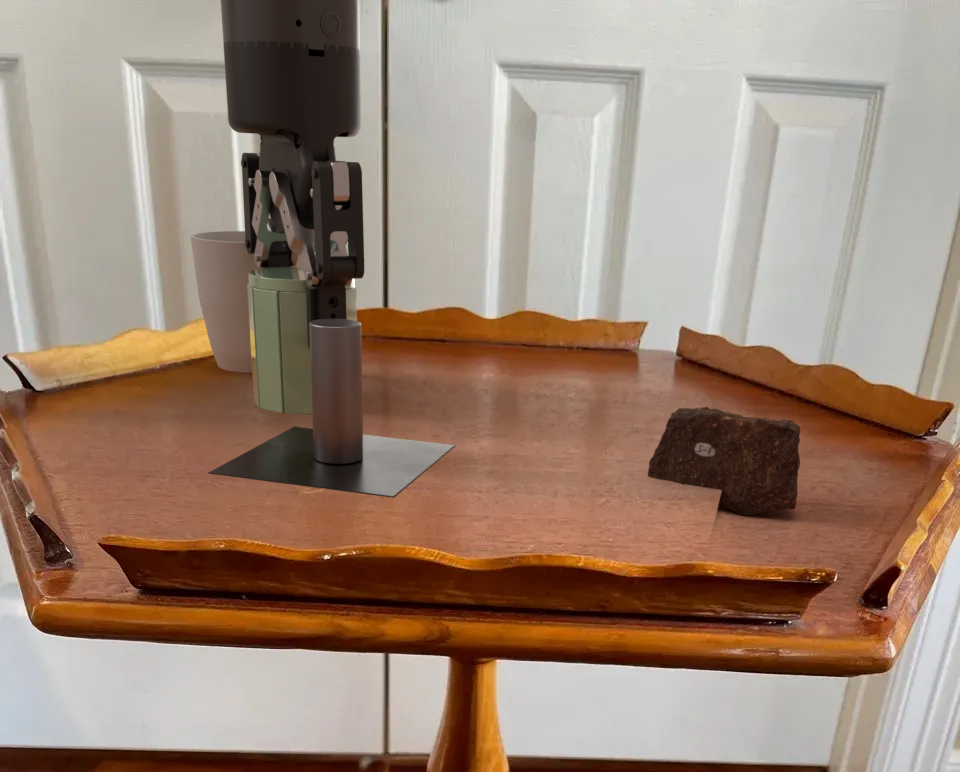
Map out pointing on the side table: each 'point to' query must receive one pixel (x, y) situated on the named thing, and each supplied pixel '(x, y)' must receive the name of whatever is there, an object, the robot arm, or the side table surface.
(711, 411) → the stone
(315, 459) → the holder
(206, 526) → the side table surface
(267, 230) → the robot arm
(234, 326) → the cup
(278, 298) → the tumbler
